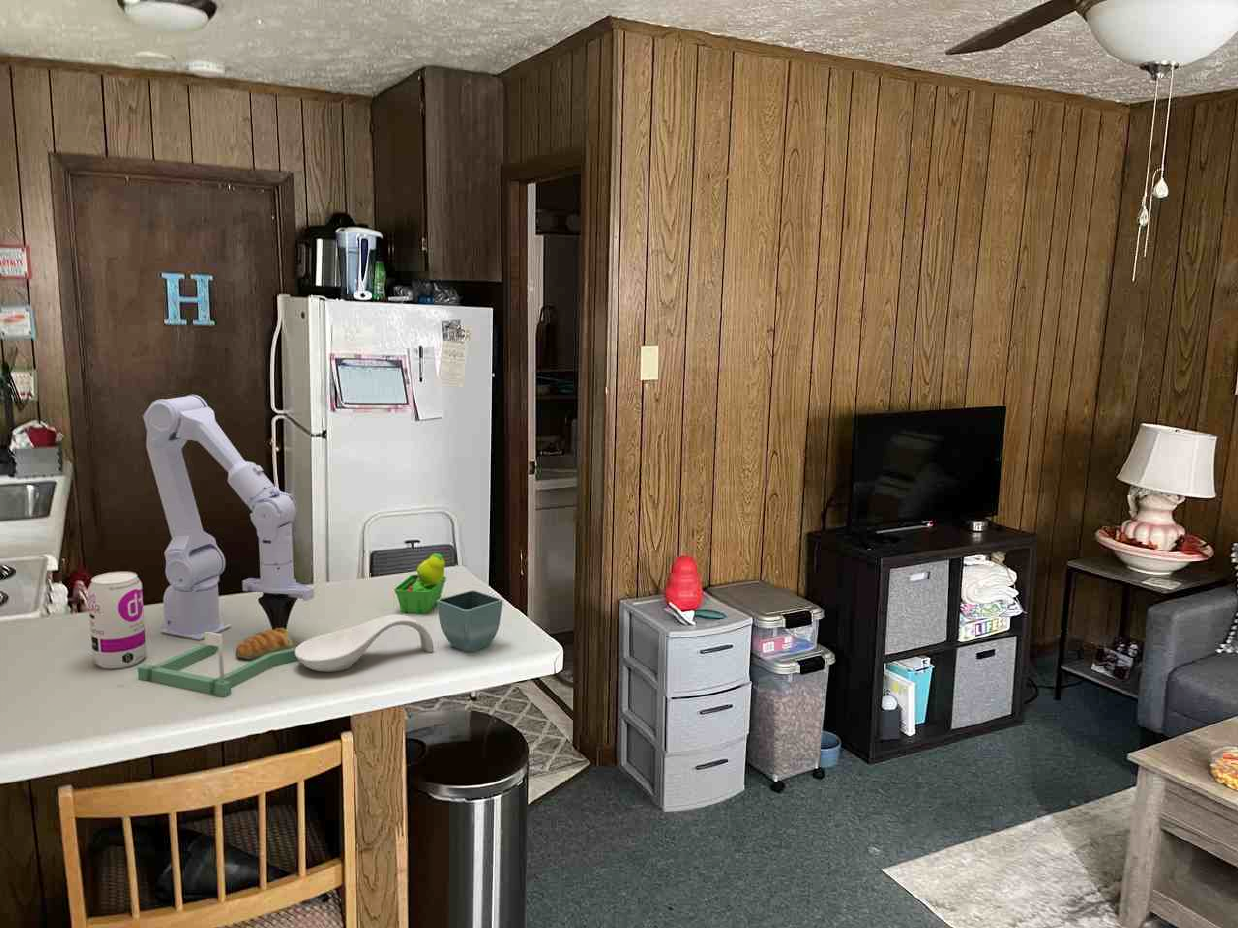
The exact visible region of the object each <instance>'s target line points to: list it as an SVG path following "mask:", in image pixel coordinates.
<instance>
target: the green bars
mask: <svg viewBox="0 0 1238 928" xmlns="http://www.w3.org/2000/svg"><path fill="white" fill-rule="evenodd" d="M204 634H205V638H204V643H203V644H200V645H199V646H196V647H194V648H191V649H190V650H187V651H185V652H183V653H180V654H178V655H176V656H173V657H171V658H169V659H166V660H164V661H162V662H160V663H157V664H154V665H151V664H146V663H144V664H142V665H140V666H138V667H137V671H138V672H137V674H138V680H143V681H148V682H152V683H156V684H162V685H165V686H166V685H167V686H170V687H176V688H180V689H183V690H184V689H185V690H190V691H193V692H199V693H203V694H209V695H214V696H218V697H222V698H225V697H227V696H229V695H232V688H233V687H235V686H237V685H239V684H241V683H243V682H244V681H247V680H248V679H250V678H253V677H254V676H257V675H259V674H260V673H263V672H264V671H267V670H268V669H271V668H273V667H277V666H280V665H285V664H289V663H294V662H298V661H299V660H298V659H297V658H296V656H295V649H296V648H297V646H296V647H293V648H292V649H287V650H282V651H278V652H273V653H269V654H266V655H264V656H262V657H260V658H258V659H253V660H251V661H250V662H248V663H245V664H244V665H241V666H239V667H237V668H235V669H233V670H231V671H229V672H227V673H224V671H225V669H224V651H223V634H222V633H221V632H217V633H210V632H204ZM217 651H218V665H219V666H218V667H219V677H217V678H215V677H209V676H205V675H204V676H203V675H199V674H195V673H189V672H185V671H180V670H181V669H184V668H186V667H189V666H191V665H193V664H195V663H197V662H200V661H202V660H204V659H206V658H208V657H211V656H213V655H215V654H216V652H217ZM299 662H300V661H299Z"/></svg>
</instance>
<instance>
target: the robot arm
mask: <svg viewBox="0 0 1238 928" xmlns="http://www.w3.org/2000/svg"><path fill="white" fill-rule="evenodd" d="M208 405H209V404H208V403H207V402H206V400H205V399H203V398H202V396H199V395H196V394H188V395H186V396H182V397H173V398H168V399H162V398H161V399H157V400H155V401H153V402H151V403H150V405H149V406H148V408H147V409H146V411H145V412H144V414H143V415H142V418H143V422H144V424H145V429H146V443H145V444H146V450H147V454H148V458H149V461H150V465H151V468H152V472H153V475H154V479H155V482H156V486H157V490H158V494H159V496H160V500H161V504H162V508H163V511H164V514H165V515H164V516H165V519H166V522H167V525H168V529H169V532H170V536H171V540H170V542H169V544H168V546H167V548H166V550H165V551H164V552H163V553H164V557H165V577H166V579H167V582H168V583H169V584H170V585H169V586H167V588H166V589H165V591H164V595H163V599H162V600H163V601H162V604H163V618H164V620H163V621H164V629H162V630H161V633H162V634H166V635H167V634H168V635H173V636H177V637H178V636H179V637H183V638H188V639H194V640H204V639H205V634H204V632H210V633H221V632H223V631H224V630H226V629H229V628H231V627H232V626H231V624H230V623H224V622H220V621H221V619H220V617H221V616H220V615H221V614H220V599H219V585H218V583H219V582H220V575H221V574H223V572H224V571H225V568H226V557H225V556H224V553H223V552H222V550H221V549H220V548H219V547H218V545H217V542H216V538H215V537H214V536H212V535H211V534H209V533H207V532H206V531H204V528H203V525H202V520H201V517H200V513H199V509H198V506H197V502H196V498H195V496H194V492H193V488H192V484H191V481H190V477H189V473H188V469H187V467H186V463H185V459H184V457H183V456H184V455H183V452H182V450H183V447H184V446H185V444H186V443H187V441H190V440H191V441H195V442H198V443H199V444H200V445H201V446H202V447H203V448H204V449H205V450H206V451H207V452H208V453H209V454H210V455H211V456H212V457H213V458H214V460H216V462H218V463H219V465H220V466H222V467H223V469H224V470H225V471H226V472H227V473H228V476H227V483H228V484H229V486H231V488H232V489H233V490H234V491H235V492H236V494H237V495H238V496H239V498H240V499H241V500H242V502H244V504H245V505H246V506H247V507H248V508H249V510H251V513H249V517H250V520H251V522H252V524H253V525H254V527H255V530H256V535H257V536H256V537H258V546H259V547H258V549H259V563H260V564H259V573H260V574H259V575H260V578H254V577H249V578H246V579H244V580H242V583H241V584H242V591H243V592H251V591H252V592H256V593H257V592H259V593H262V596H260V597H258V600H257V601H258V604H259V605H260V607H262V609H263V611H264V613H265V614H266V617H267V619H268V621H269V625H270V627H271V630H275V628H282V627H283V628H284V629H286V630H287V628H288V623H289V619H290V616H291V613H292V611H293V607H294V606H295V603H296V602H297V600H298V599H302V600H303V601H305V602H308V601H311V600H313V599H314V598H315V589H314V587H311V586H308V585H304V584H302V583H300V582H297V579H295V575H294V574H295V571H294V568H295V567H294V566H295V565H294V547H293V545H294V544H293V542H294V541H293V523H292V522H293V521H295V519H296V518H297V515H298V511H299V509H298V507H299V506H298V504H297V502H296V499H294V497H293V495H292V494H290V493H287V492H285V491H281V490H280V488H278V487H277V486H275V485H274V484H273V483H272V482H271V480H270V479H269V478H268V477H267V476H266V474H265V473H264V468H262V466H261V465H259V464H256V463H255V462H253V461H248V460H245V459H244V458H243V457H242V455H241V453H239V451H238V450H237V448H236V447H235V446H234V445H233V443H232V441H231V440H230V439H229V438H228V436H227V435H226V433H225V432H224V431H223V430H222V428H221V427H220V425H219V424H218V423H217V421H216V418H215V411H214V410H213V409H212V408H211V407H210V406H208Z"/></svg>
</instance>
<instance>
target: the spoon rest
mask: <svg viewBox="0 0 1238 928" xmlns="http://www.w3.org/2000/svg"><path fill="white" fill-rule="evenodd" d="M395 626H408V627H410V628H412V629H414V630H416V631H417V632H418V634H419V640H420V645H421V647H422V648H423V650H425V651H426V652H427V653H433V652H434V644H433V639H432V637H431V635H430V633H429V631H428V630H427V629H426V628H425V626H424V625H422V623H420V621H419V620H418V619H415V618H414V617H411V616H407V615H405V614H388V615H384V616H380V617H378V618H375V619H371V620H369V621H366V622H363V623H361V624H357V625H354V626H352V627H347V628H344V629H340V630H337V631H333V632H328V633H325V634H321V635H318V636H314V637H311V638H308V639H307V640H305V641H303V642H301V643H299V644H298V646H296V647H297V648H296V647H295V648H296V649H295V656H296V658H297V659H298V660H299V662H300V663H301V664H302V665H303V666H305V667H306V668H308V669H311V670H314V671H318V672H323V673H324V672H325V673H330V672H331V673H332V672H333V673H334V672H339V671H340V670H341V671H344V669H345V670H347V669H349V668H351V667H352V666H353V664H354V663H356V662H357V661H359V659H361V656H363V655H364V653H365V652H366V651H367V650H368V648H369V647H370V646H371V645H372V644H373V643H374V642H375V640H376V639H378V637H379V636H380V635H381V634H382V633H384V632H385V631H387V630H388V629H390V628H393V627H395Z"/></svg>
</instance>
